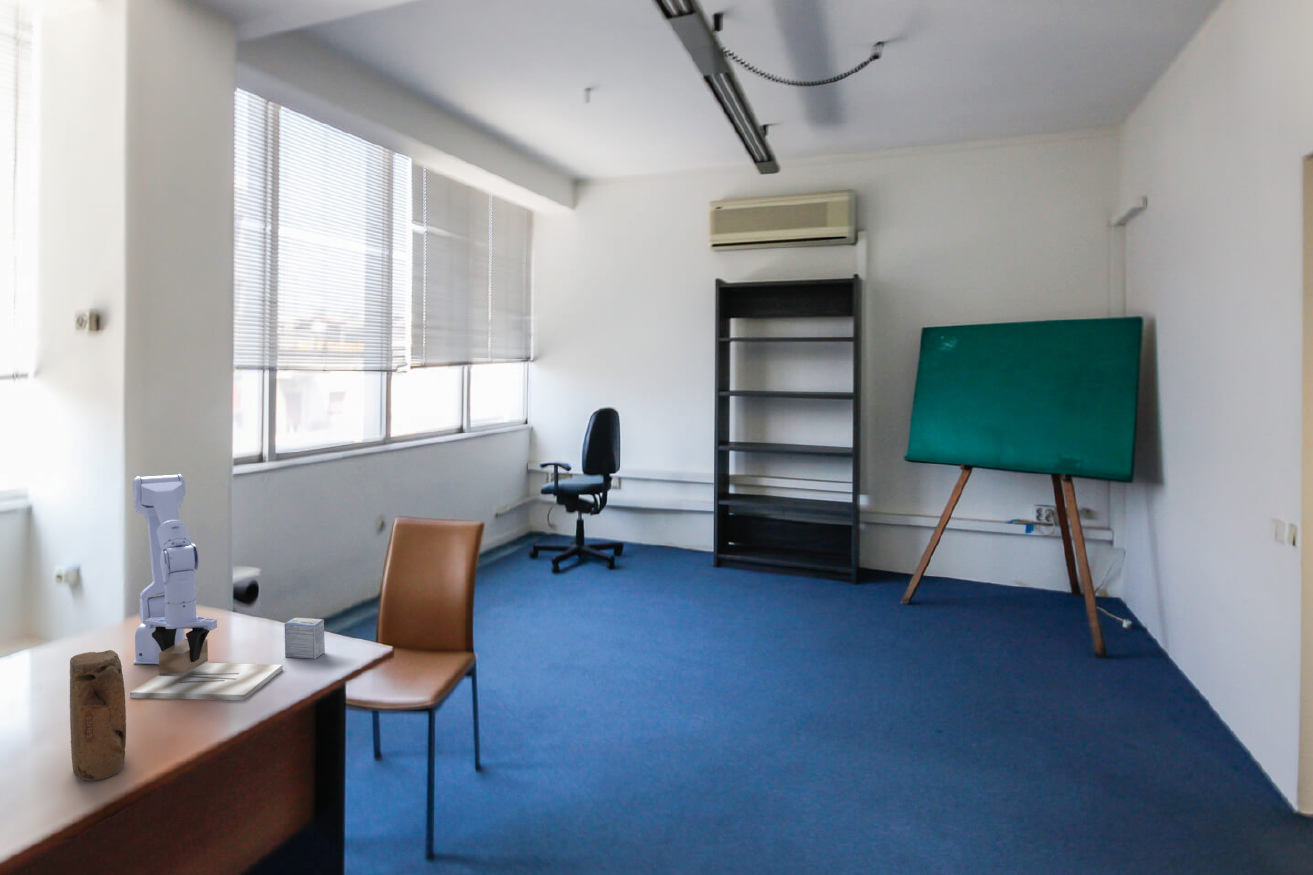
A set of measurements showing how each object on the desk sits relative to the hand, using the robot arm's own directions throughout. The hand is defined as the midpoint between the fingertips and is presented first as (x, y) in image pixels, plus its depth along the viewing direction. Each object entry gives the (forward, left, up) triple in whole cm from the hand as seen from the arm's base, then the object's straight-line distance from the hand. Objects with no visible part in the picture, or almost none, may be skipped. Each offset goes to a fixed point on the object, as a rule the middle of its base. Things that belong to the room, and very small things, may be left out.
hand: (182, 660), depth 160 cm
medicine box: (+19, +17, -5) cm, 26 cm away
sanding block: (0, +1, -2) cm, 2 cm away
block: (+8, -35, -5) cm, 36 cm away
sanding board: (+6, 0, -5) cm, 8 cm away
